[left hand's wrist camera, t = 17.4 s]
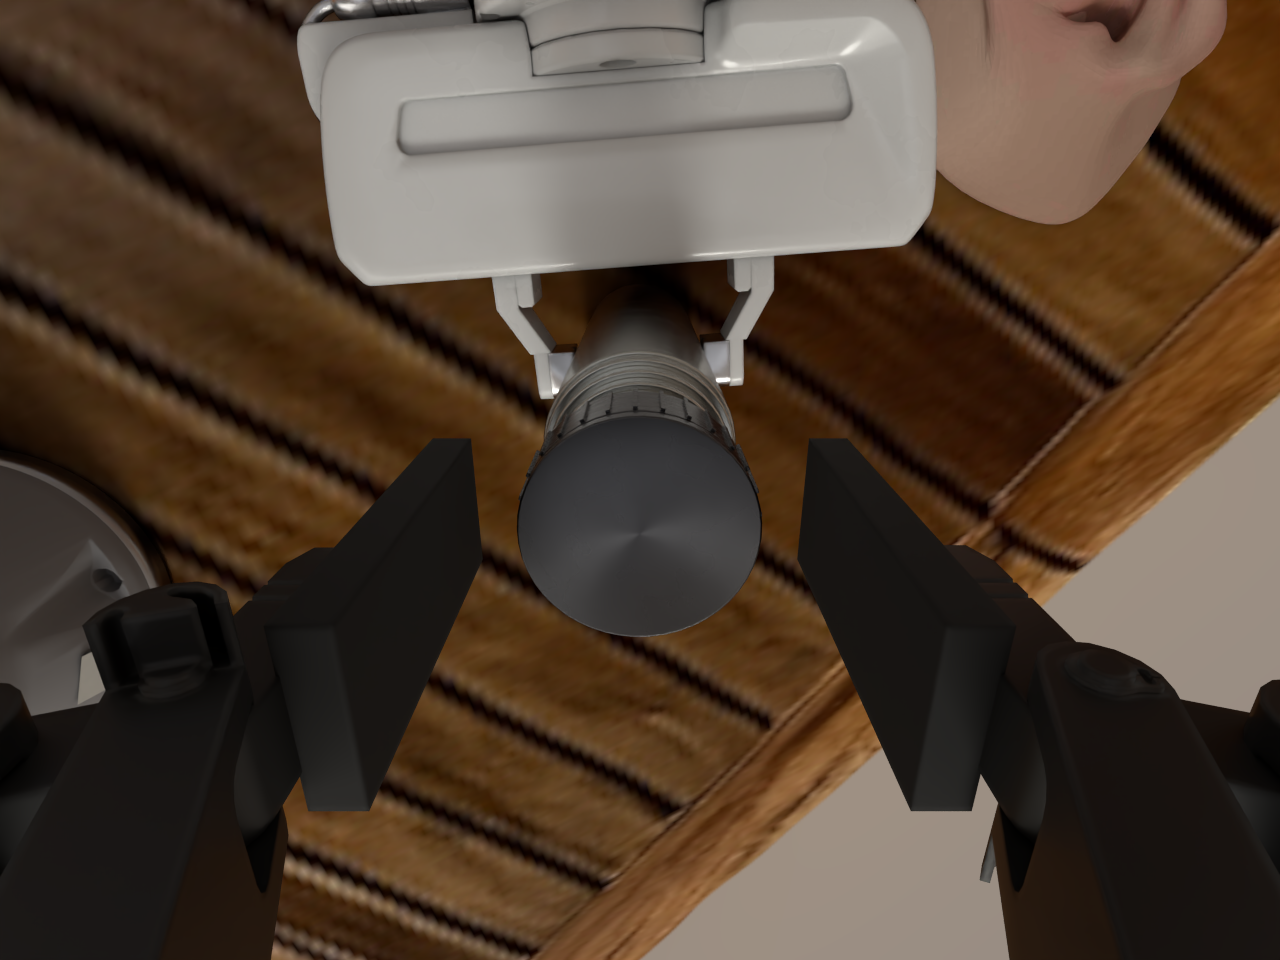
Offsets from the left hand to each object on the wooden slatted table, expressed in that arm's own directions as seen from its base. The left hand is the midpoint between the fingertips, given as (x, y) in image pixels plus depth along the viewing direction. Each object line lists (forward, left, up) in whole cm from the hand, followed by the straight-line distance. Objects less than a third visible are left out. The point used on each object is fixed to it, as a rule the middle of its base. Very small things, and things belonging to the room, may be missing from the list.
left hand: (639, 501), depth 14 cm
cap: (0, 0, +1) cm, 1 cm away
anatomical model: (+8, +19, -19) cm, 28 cm away
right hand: (+1, -1, -13) cm, 13 cm away
